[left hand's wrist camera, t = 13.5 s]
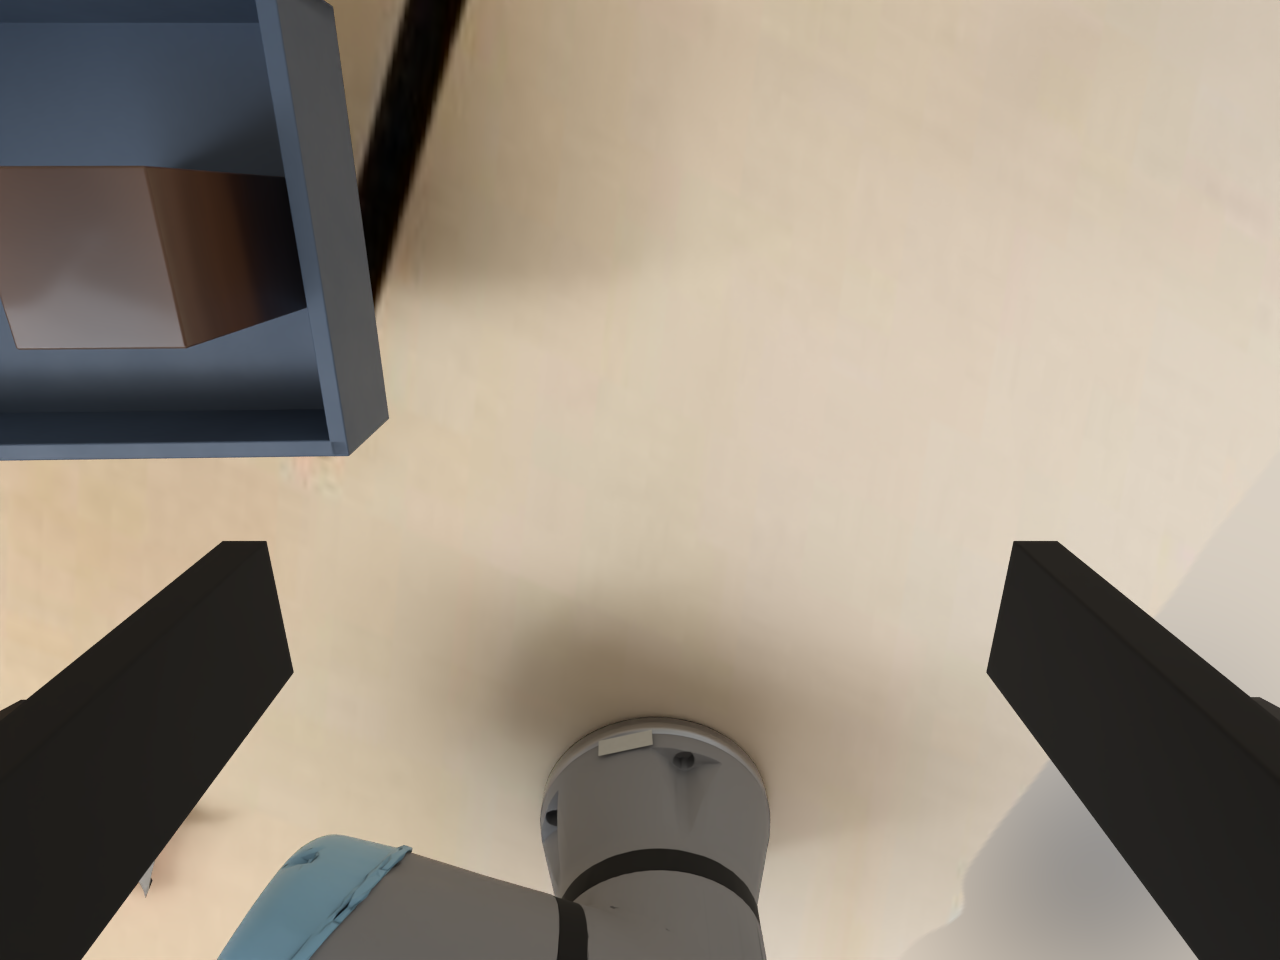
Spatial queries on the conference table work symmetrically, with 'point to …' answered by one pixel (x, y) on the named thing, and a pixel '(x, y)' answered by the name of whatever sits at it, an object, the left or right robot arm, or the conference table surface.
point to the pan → (211, 141)
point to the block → (143, 255)
